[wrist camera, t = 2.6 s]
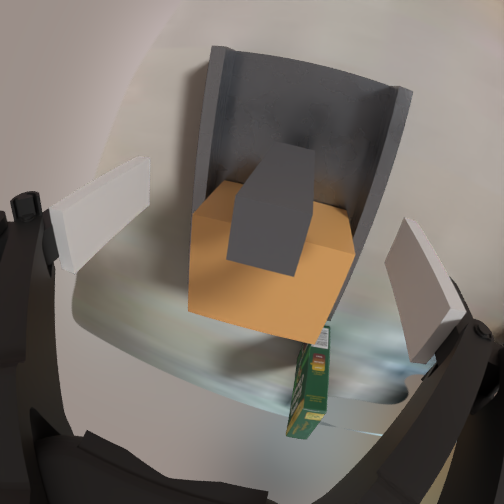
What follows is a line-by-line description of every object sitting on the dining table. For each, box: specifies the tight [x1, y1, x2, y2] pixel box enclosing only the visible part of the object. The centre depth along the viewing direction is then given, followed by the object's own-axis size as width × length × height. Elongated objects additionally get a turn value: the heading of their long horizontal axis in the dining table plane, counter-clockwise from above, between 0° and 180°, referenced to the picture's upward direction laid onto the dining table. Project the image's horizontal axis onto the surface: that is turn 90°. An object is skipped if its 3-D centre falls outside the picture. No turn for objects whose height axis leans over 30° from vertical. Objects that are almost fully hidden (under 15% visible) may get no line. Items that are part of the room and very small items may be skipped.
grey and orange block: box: [188, 142, 355, 345], centre depth 22 cm, size 16×12×16 cm
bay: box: [188, 46, 413, 321], centre depth 26 cm, size 24×16×4 cm, turn 171°
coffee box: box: [286, 326, 330, 439], centre depth 33 cm, size 8×3×13 cm, turn 173°
